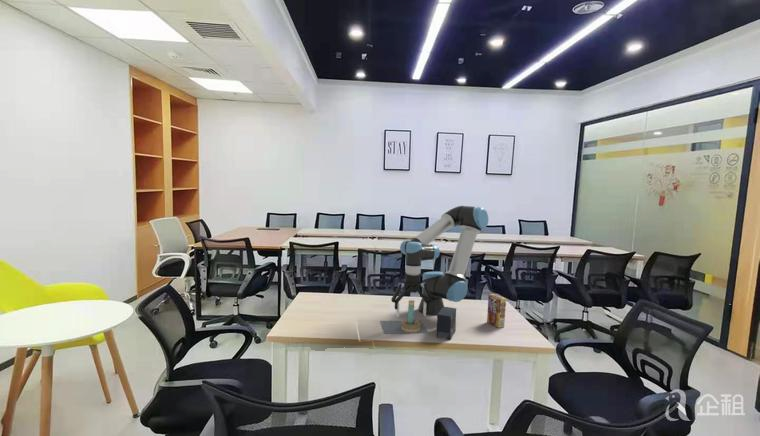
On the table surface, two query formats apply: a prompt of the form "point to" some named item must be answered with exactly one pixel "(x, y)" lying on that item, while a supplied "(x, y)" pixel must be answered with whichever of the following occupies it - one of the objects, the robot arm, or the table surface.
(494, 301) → the candy box
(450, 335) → the small box
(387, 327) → the mat
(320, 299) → the table surface
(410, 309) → the teal and tan cylinder
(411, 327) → the bead
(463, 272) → the robot arm
